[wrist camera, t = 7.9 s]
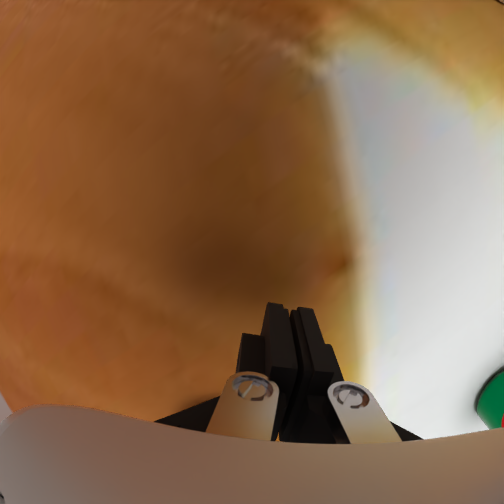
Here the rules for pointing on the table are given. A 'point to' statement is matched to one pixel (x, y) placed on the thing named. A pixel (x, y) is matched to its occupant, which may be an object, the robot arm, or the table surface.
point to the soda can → (492, 402)
